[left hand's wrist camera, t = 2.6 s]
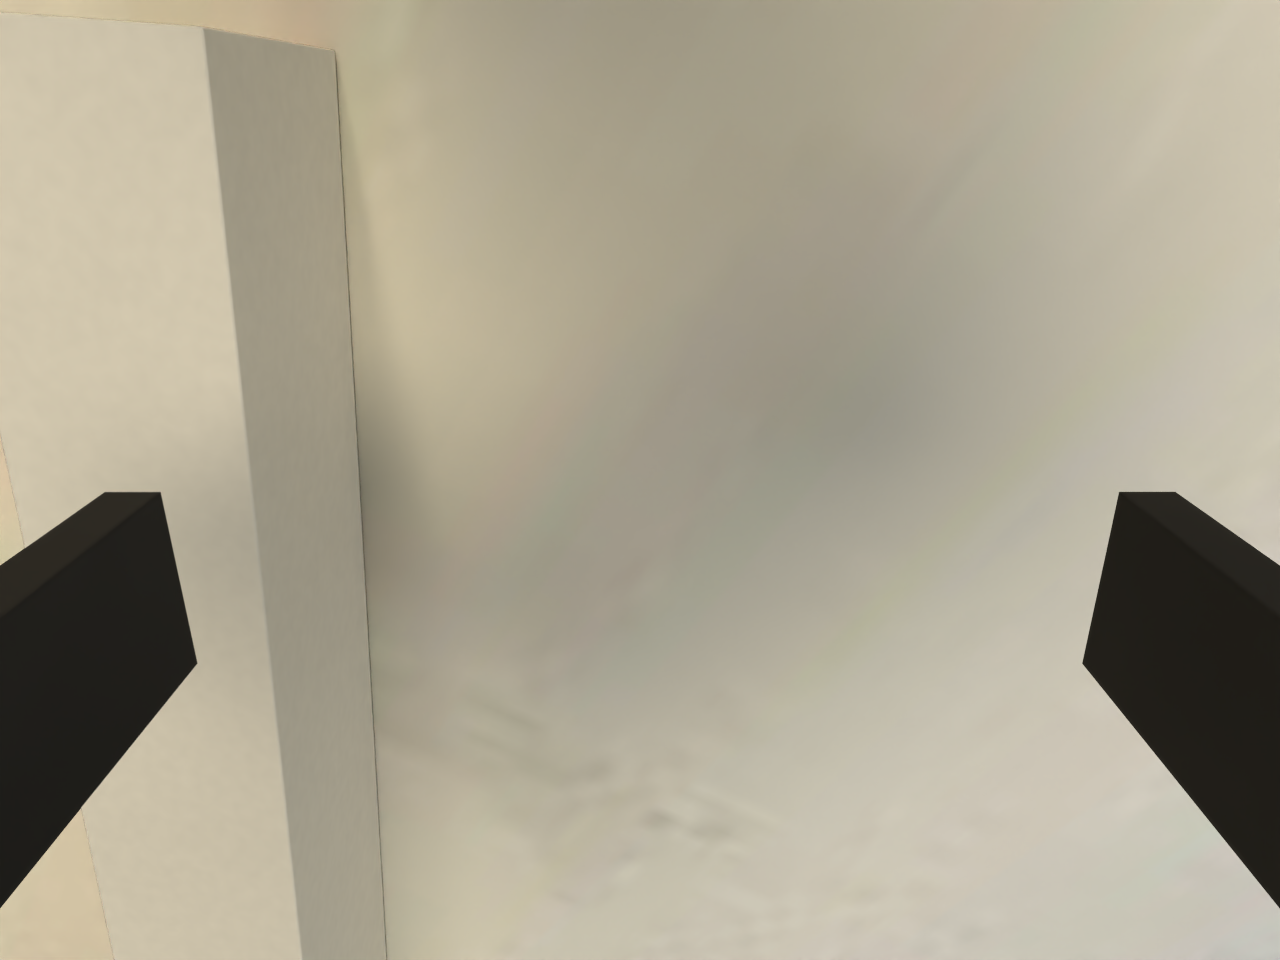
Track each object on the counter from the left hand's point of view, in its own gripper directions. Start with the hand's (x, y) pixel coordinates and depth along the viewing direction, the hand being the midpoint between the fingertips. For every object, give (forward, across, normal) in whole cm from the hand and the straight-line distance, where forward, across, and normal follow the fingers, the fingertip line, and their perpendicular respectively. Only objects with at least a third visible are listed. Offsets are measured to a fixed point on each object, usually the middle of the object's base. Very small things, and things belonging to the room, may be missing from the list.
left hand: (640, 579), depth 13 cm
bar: (+17, -14, -28) cm, 35 cm away
